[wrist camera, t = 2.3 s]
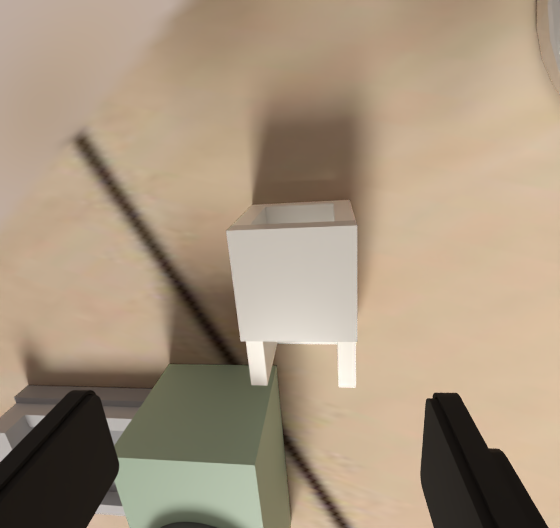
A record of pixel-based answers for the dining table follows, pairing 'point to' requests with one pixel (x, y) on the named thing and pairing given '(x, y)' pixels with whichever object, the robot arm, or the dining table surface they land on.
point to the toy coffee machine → (184, 447)
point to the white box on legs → (296, 281)
